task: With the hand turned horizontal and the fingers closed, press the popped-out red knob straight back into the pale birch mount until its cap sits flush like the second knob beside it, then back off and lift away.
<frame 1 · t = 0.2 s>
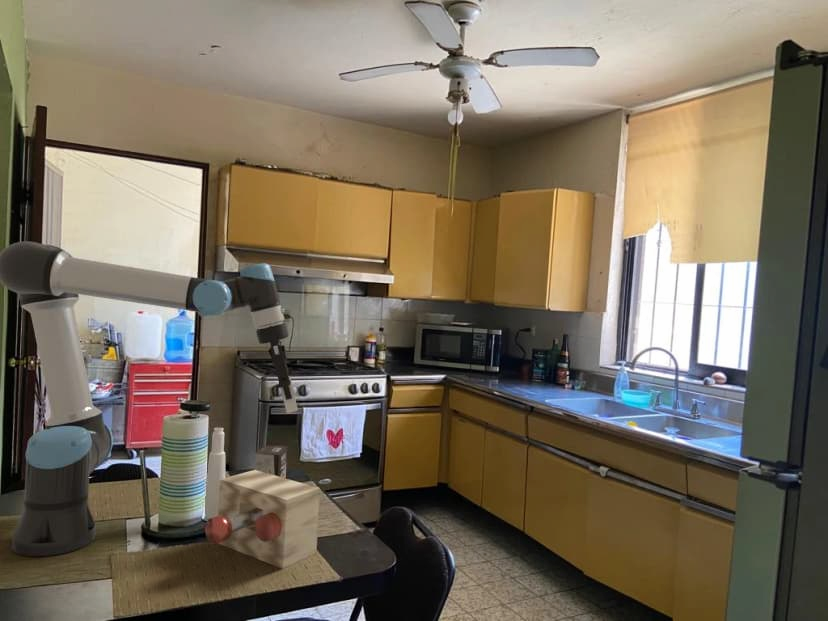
hand: (292, 406, 148), 27 cm above the table, tool tilted 15°, fingers open, 13 cm apart
cosmetic bottle: (214, 519, 143), on the table
coffee box: (268, 513, 148), on the table
mount: (266, 547, 128), on the table
knob: (238, 521, 121), point 8 cm above the table, slide at 0.0 cm
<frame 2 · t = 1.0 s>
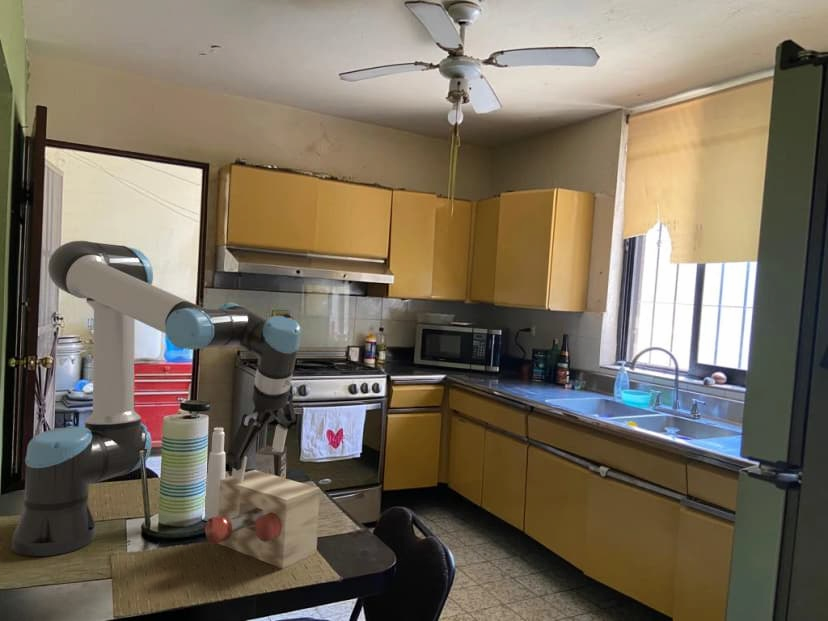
hand: (258, 463, 133), 17 cm above the table, tool tilted 25°, fingers open, 13 cm apart
nothing on the table moved.
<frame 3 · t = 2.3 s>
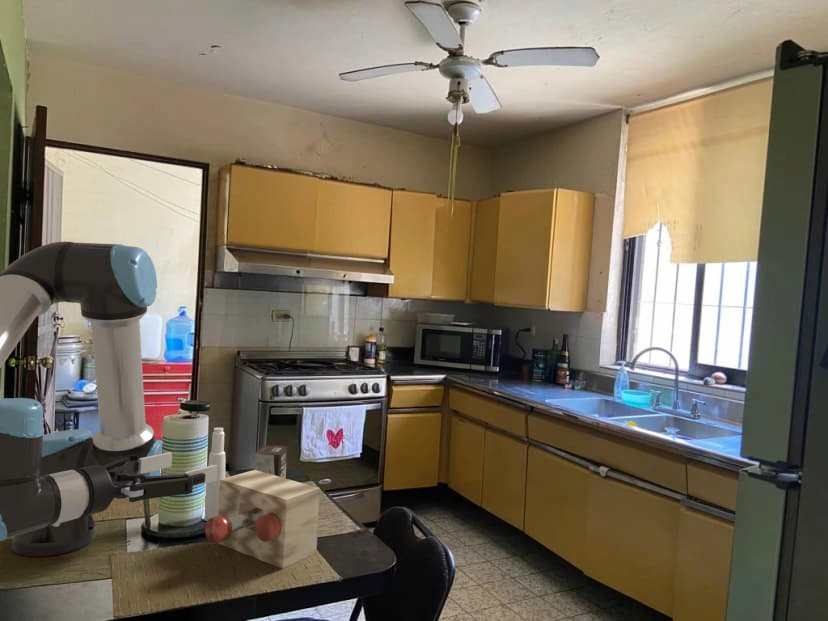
hand: (192, 465, 110), 22 cm above the table, tool horizontal, fingers open, 12 cm apart
nothing on the table moved.
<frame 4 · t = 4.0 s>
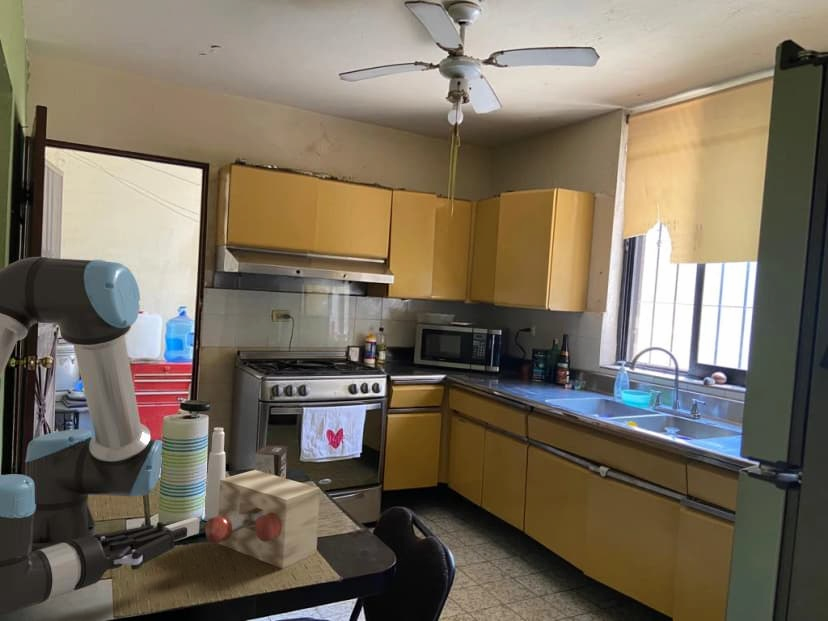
hand: (196, 525, 111), 11 cm above the table, tool horizontal, fingers closed
nothing on the table moved.
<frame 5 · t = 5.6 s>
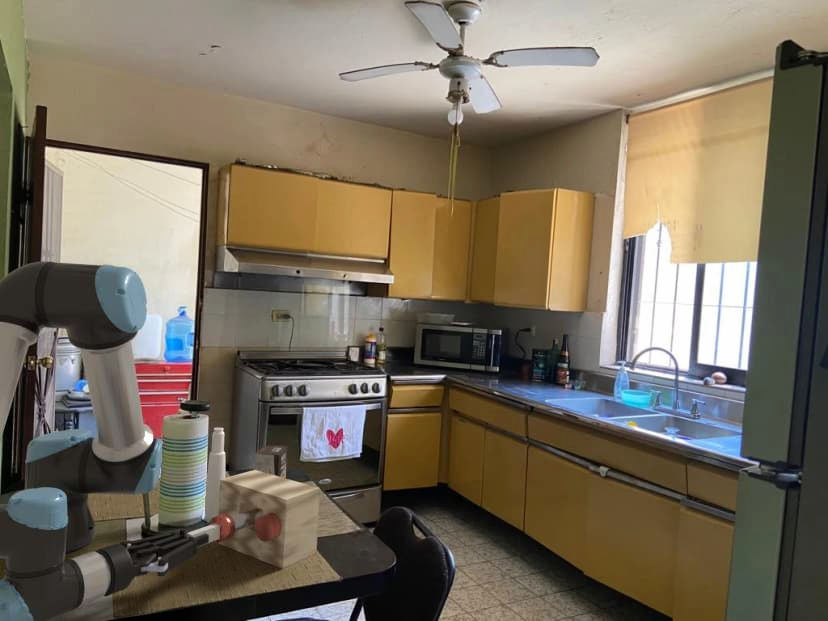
hand: (217, 531, 115), 8 cm above the table, tool horizontal, fingers closed
knob: (241, 520, 121), point 8 cm above the table, slide at 0.8 cm, touching gripper
everything else where it was.
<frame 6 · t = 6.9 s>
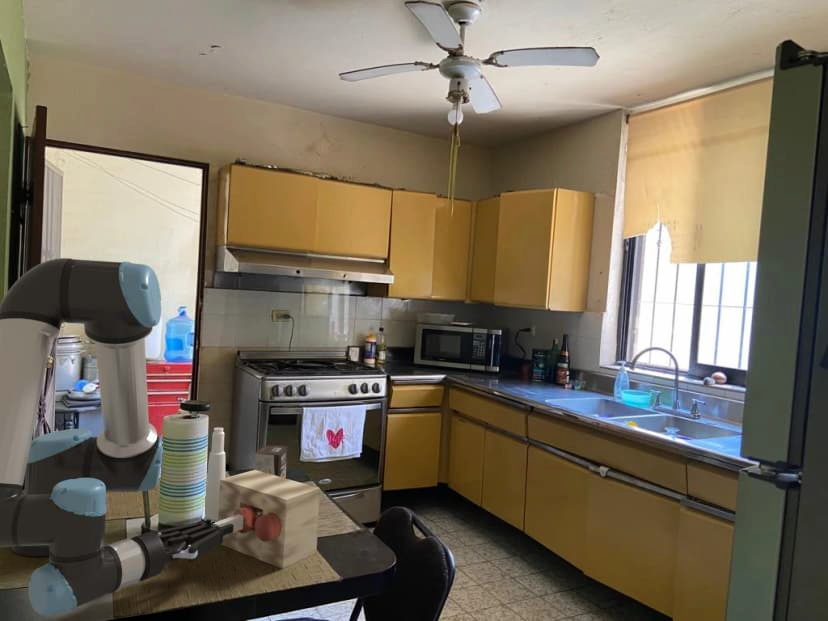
hand: (240, 521, 121), 8 cm above the table, tool horizontal, fingers closed
knob: (263, 512, 126), point 8 cm above the table, slide at 7.0 cm, touching gripper
everything else where it was.
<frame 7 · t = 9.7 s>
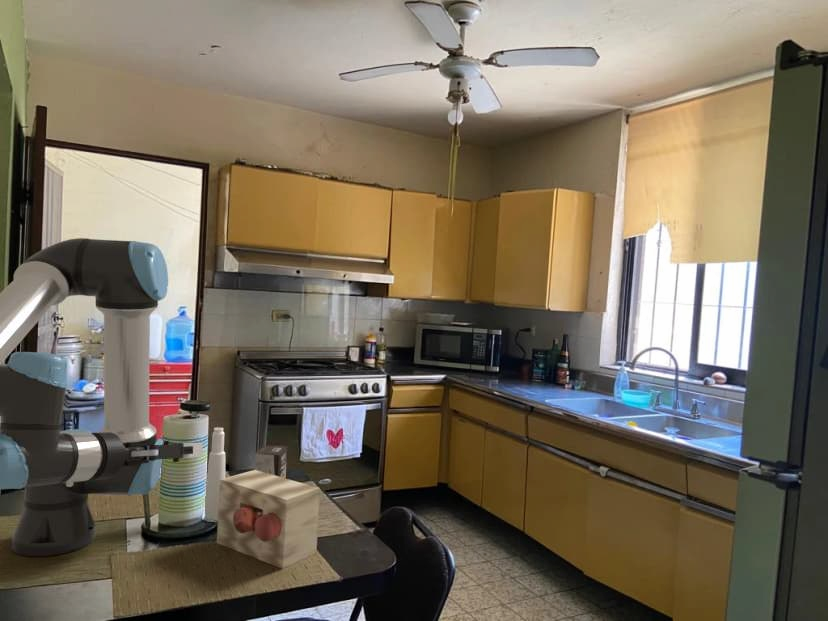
hand: (199, 449, 115), 24 cm above the table, tool horizontal, fingers closed
knob: (263, 512, 126), point 8 cm above the table, slide at 7.0 cm
everything else where it was.
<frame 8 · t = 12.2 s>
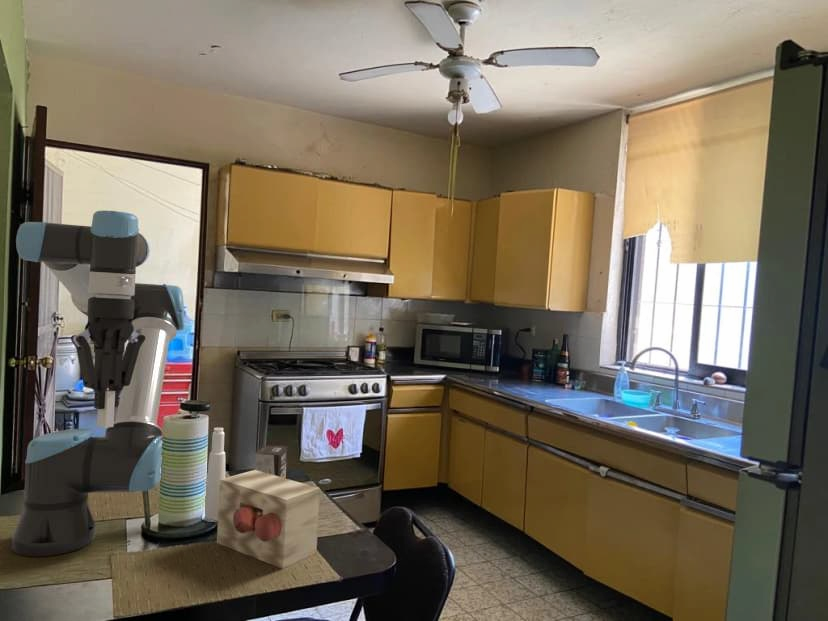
hand: (105, 426, 107), 29 cm above the table, tool pointing down, fingers closed
nothing on the table moved.
at the end: knob slide at 7.0 cm; the gripper is holding nothing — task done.
